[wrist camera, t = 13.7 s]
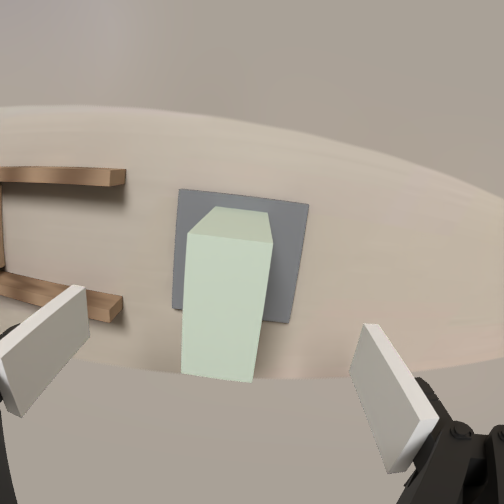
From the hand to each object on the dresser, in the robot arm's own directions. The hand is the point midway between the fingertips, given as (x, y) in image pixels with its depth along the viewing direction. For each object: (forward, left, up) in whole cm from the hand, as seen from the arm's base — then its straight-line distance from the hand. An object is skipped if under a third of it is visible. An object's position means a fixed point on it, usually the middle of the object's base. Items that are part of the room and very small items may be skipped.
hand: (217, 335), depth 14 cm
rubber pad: (0, 0, -13) cm, 13 cm away
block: (0, 0, -12) cm, 12 cm away
